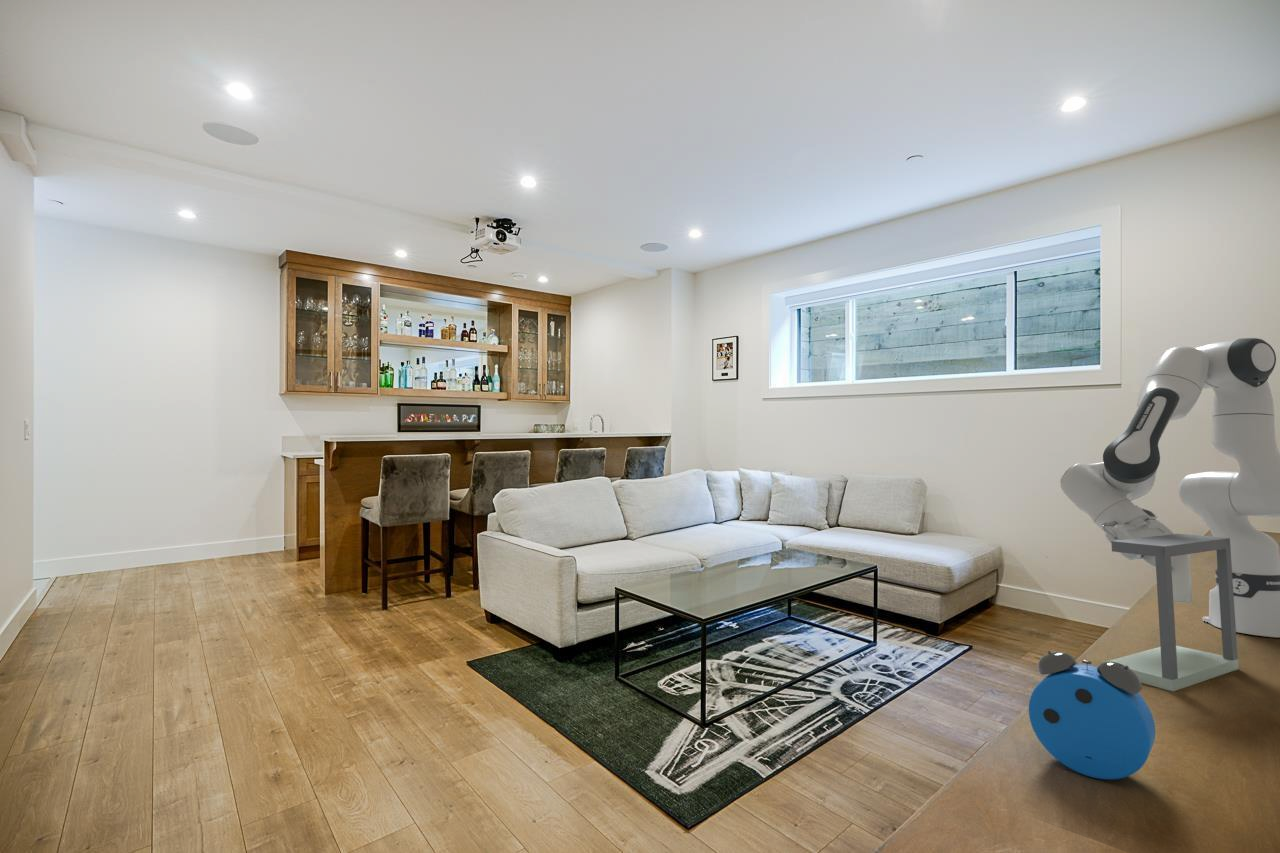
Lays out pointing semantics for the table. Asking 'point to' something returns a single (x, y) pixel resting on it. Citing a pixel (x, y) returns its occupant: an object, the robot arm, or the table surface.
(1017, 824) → the table surface
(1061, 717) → the alarm clock
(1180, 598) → the white cylinder
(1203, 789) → the table surface
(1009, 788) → the table surface
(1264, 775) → the table surface
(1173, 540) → the grey frame
